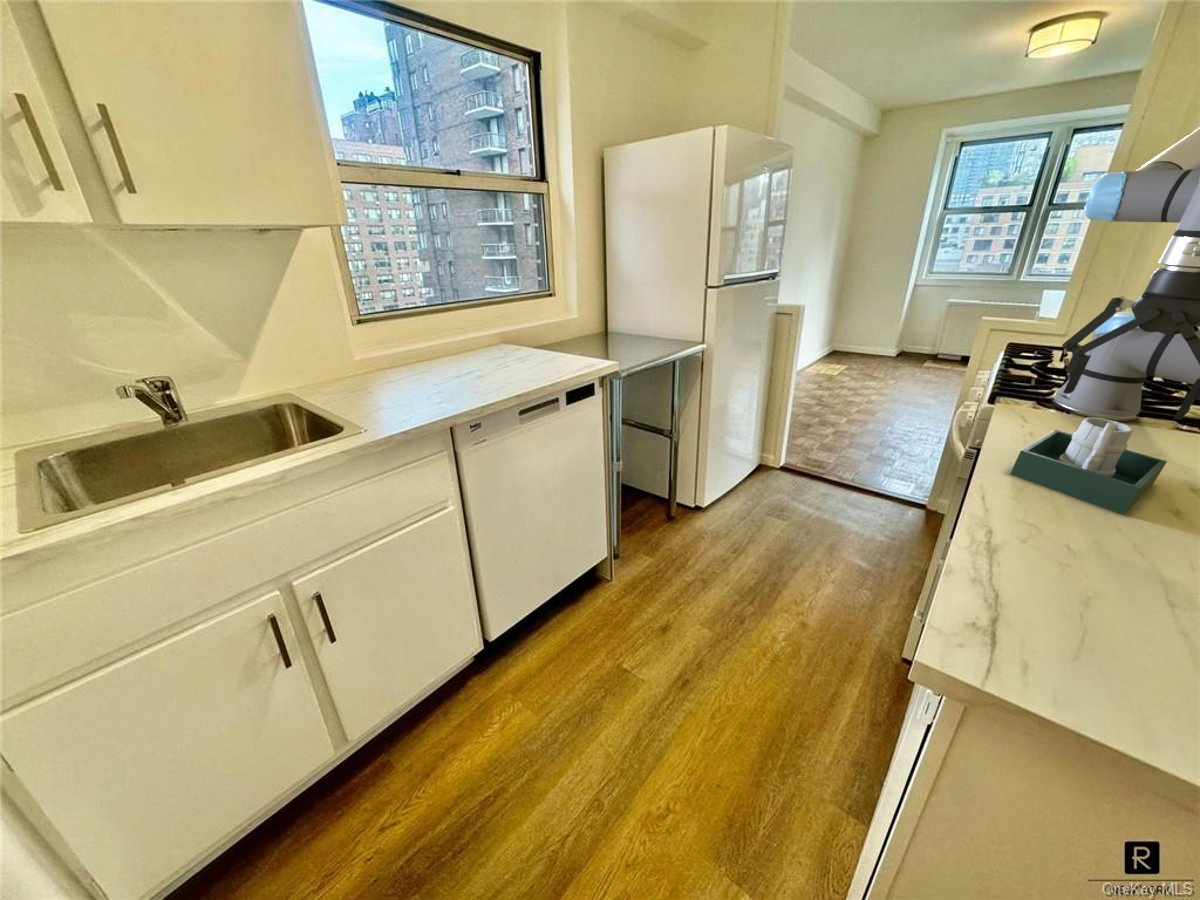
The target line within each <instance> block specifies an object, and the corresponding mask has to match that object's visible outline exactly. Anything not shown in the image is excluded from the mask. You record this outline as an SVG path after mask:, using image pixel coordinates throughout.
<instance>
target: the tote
mask: <svg viewBox="0 0 1200 900" xmlns="http://www.w3.org/2000/svg"><path fill="white" fill-rule="evenodd" d="M1073 434H1074V433H1073ZM1073 434H1072V433H1069V432H1066V431H1062V430H1058V429H1053V430H1052V431H1050V432H1049V433H1047V434H1045V435H1044V436H1042V437H1041V438H1039V439H1037V440H1035V441H1034V442H1033V443H1031V444H1029V445H1026V446H1025V447H1024V448H1023V449H1021V450H1020V451H1019V454H1018V456H1017V457H1016V460H1015V463H1014V464H1013V467H1012V469H1011V471H1010V473H1009V475H1011V476H1014V477H1017V478H1020V479H1022V480H1025V481H1027V482H1030V483H1034V484H1037V485H1039V486H1041V487H1044V488H1047V489H1050V490H1053V491H1056V492H1057V493H1058V492H1059V493H1061V494H1064V495H1067V496H1070V497H1072V498H1075V499H1078V500H1080V501H1083V502H1086V503H1089V504H1092V505H1095V506H1098V507H1101V508H1104V509H1105V510H1109V511H1112V512H1115V513H1117V514H1120V515H1123V516H1125V515H1126V514H1127V513H1128V512H1129V511H1130V510H1131V509H1132V508H1133V507H1134V505H1136V503H1138V501H1139V500H1140V499H1141V498H1142V497H1143V496H1144V495H1145V494H1146V493H1147V492H1148V491H1149V490H1150V489H1151V487H1153V485H1154V484H1155V482H1156V481H1157V479H1158V477H1159V476H1160V475H1161V472H1162V471H1163V469H1164V468H1165V466H1166V465H1167V463H1168V461H1167V460H1165V459H1161V458H1157V457H1154V456H1150V455H1146V454H1144V453H1140V452H1136V451H1132V450H1129V449H1126V450H1125V451H1124V452H1122V454H1121V456H1120V458H1119V459H1118V462H1117V464H1116V466H1115V469H1116V472H1115V474H1114V475H1113V476H1112V477H1108V476H1104V475H1101V474H1098V473H1095V472H1092V471H1089V470H1086V469H1083V468H1080V467H1076V466H1073V465H1070V464H1067V463H1064V462H1061V461H1058V459H1059V457H1060V456H1061V455H1062V454H1064V453H1065V451H1066V450H1067V448H1068V446H1069V444H1070V443H1071V441H1072V435H1073Z"/></svg>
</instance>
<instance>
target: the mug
mask: <svg viewBox="0 0 1200 900" xmlns="http://www.w3.org/2000/svg"><path fill="white" fill-rule="evenodd" d="M1133 432H1134V429H1132V427H1130V426H1129V425H1128V424H1125V423H1122V422H1121V421H1111V420H1107V419H1102V418H1091V417H1085V418H1084V419H1083V420H1082V422H1081V423H1080V425H1079V426H1078V429H1077V430H1076V431H1074V432H1073V435H1072V441H1071V443H1070V444H1069V446H1068V448H1067V450H1066V451H1065V453H1064V454H1062V455H1061V456H1060V457H1059V459H1058V461H1061V462H1064V463H1067V464H1070V465H1073V466H1076V467H1080V468H1083V469H1086V470H1089V471H1092V472H1095V473H1098V474H1101V475H1104V476H1108V477H1112V476H1113V475H1114V474H1115V472H1116V469H1115V466H1116V464H1117V462H1118V459H1119V458H1120V456H1121V454H1122V452H1124V451H1125V450H1127V449H1128V442H1129V440H1130V438H1131V437H1132V434H1133Z"/></svg>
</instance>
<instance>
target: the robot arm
mask: <svg viewBox="0 0 1200 900" xmlns="http://www.w3.org/2000/svg"><path fill="white" fill-rule="evenodd" d="M1084 216H1085V217H1086V219H1088V220H1090V221H1102V222H1108V223H1113V222H1114V223H1115V222H1123V223H1124V222H1125V223H1131V222H1132V223H1170V224H1171V223H1172V224H1178V225H1177V227H1176V229H1175V231H1174V233H1173V235H1172V236H1171V238H1170V240H1169V242H1168V244H1167V246H1166V248H1165V250H1164V252H1163V254H1162V256H1161V258H1160V259H1159V261H1158V263H1159V265H1161V268H1157V269H1156V270H1154V271H1153V273H1152V275H1151V276H1150V279H1149V281H1148V282H1147V284H1146V287H1145V289H1144V291H1143V293H1142V295H1141V296H1140V297H1139V298H1138V299H1137V300H1134V299H1130V298H1125V296H1122V295H1119V296H1116V297H1112V298H1111V299H1110V300H1109V302H1108V304H1107V305H1106V307H1105V308H1104V310H1103V311H1102V312H1100V313H1099V314H1098V315H1096V316H1095V317H1094V318H1093V319H1092V320H1090V321H1089V322H1088V323H1087V324H1085V325H1084V326H1083V327H1081V329H1080V330H1078V331H1077V332H1076V333H1075V334H1073V335H1072V336H1071V337H1069V338H1068V339H1067V340H1066V341H1065V342H1063V344H1062V345H1061V347H1062V349H1064V350H1066V351H1069V352H1070V353H1071V354H1072V355H1071V357H1070V360H1069V361H1068V364H1067V366H1066V368H1065V373H1068V374H1071V375H1070V378H1069V379H1068V380H1067V381H1066V382H1065V383H1064V384H1063V385H1062V386H1061V387H1060V388H1059V389H1058V390H1057V391H1056V392H1055V394H1054V395H1053V397H1052V399H1051V403H1052V404H1053V405H1054V406H1056V407H1057V408H1059V409H1061V410H1063V411H1066V412H1068V413H1072V414H1074V415H1079V416H1083V417H1085V418H1102V419H1107V420H1111V421H1116V422H1133V421H1136V419H1137V418H1138V416H1137V417H1135V416H1136V415H1137V414H1138V413H1139V414H1140V412H1141V406H1142V393H1143V385H1144V383H1145V381H1146V380H1147V377H1148V376H1150V377H1155V378H1159V379H1164V380H1170V381H1174V382H1179V383H1183V384H1189V385H1192V387H1191V388H1190V390H1189V391H1188V393H1187V395H1186V397H1185V398H1184V400H1183V401H1182V403H1181V404H1180V406H1179V408H1178V410H1177V412H1176V413H1175V415H1174V417H1173V418H1172V419H1173V420H1177V421H1181V420H1182V419H1183V418H1184V417H1185V416H1186V414H1187V413H1188V411H1189V410H1190V408H1191V407H1192V405H1193V403H1194V402H1195V401H1196V400H1197V401H1200V122H1199V123H1198V124H1197V125H1196V126H1195V128H1194V130H1193V131H1192V132H1191V133H1190V134H1188V135H1187V136H1185V137H1184V138H1182V139H1181V140H1179V141H1178V142H1176V143H1174V144H1173V145H1172V146H1170V147H1169V148H1167V149H1166V150H1164V151H1162V152H1161V153H1160V154H1158V155H1157V156H1155V157H1154V158H1151V160H1149V161H1147V162H1146V163H1145V164H1143V165H1141V166H1140V167H1139V168H1137V169H1136V170H1134V171H1132V170H1130V171H1129V170H1122V171H1114V172H1108V173H1104V174H1103V175H1102V176H1100V177H1099V178H1098V179H1097V181H1096V182H1095V183H1094V185H1093V186H1092V188H1091V190H1090V191H1089V193H1088V196H1087V199H1086V202H1085V206H1084ZM1129 308H1130V309H1131V311H1125V310H1126V309H1129ZM1091 334H1092V336H1091V338H1090V341H1088V342H1087V343H1085V344H1082V345H1081V344H1080V343H1081V342H1082V341H1083V340H1084V339H1086V338H1087V337H1088V336H1089V335H1091ZM1053 399H1054V400H1053ZM1139 414H1138V415H1139Z"/></svg>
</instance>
